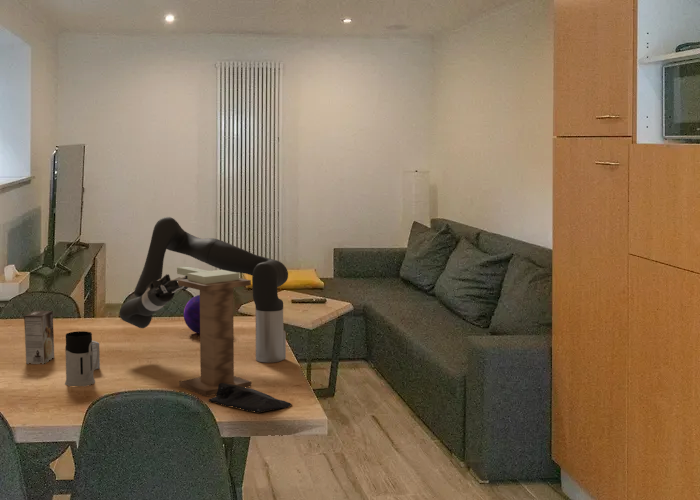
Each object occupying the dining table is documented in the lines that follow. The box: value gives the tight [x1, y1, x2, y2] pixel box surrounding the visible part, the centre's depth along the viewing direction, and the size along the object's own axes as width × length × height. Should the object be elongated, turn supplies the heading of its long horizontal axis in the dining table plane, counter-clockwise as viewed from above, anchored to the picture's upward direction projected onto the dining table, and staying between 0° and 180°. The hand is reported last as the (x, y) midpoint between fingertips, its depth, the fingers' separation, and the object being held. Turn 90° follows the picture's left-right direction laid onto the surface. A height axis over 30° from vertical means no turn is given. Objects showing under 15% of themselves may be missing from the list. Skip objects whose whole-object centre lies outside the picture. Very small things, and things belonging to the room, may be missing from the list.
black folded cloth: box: [208, 383, 293, 413], centre depth 245 cm, size 15×22×5 cm
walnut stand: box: [177, 277, 252, 397], centre depth 260 cm, size 16×14×32 cm
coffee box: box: [23, 310, 55, 365], centre depth 289 cm, size 9×6×16 cm
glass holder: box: [64, 330, 100, 387], centre depth 262 cm, size 9×14×15 cm, turn 51°
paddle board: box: [176, 266, 240, 284], centre depth 263 cm, size 12×22×2 cm, turn 43°
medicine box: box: [92, 340, 101, 370], centre depth 279 cm, size 8×4×9 cm, turn 130°
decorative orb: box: [183, 294, 200, 335], centre depth 332 cm, size 15×15×15 cm
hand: (180, 275), depth 271 cm, fingers open, 8 cm apart
